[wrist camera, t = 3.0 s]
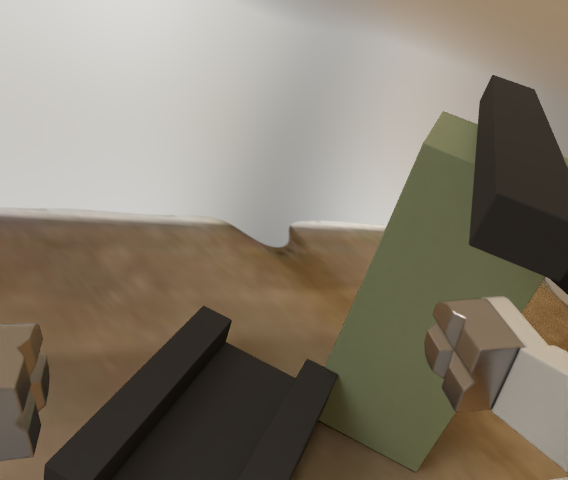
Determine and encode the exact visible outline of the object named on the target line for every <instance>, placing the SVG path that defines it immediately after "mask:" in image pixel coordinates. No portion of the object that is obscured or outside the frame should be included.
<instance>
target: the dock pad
mask: <svg viewBox="0 0 568 480" xmlns="http://www.w3.org/2000/svg"><path fill="white" fill-rule="evenodd" d="M231 321H232V320H231V319H229V318H227V317H225V316H223V315H221V314H219V313H217V312H215V311H213V310H211V309H209V308H207V307H205V306H203V307H202V308H201V309H200V310H199V311H198V312H197V313H196V314H195V315H194V316H193V317H192V318H191V319H190V320H189V321H188V322H187V323H186V324H185V325H184V326H183V327H182V328H181V329H180V330H179V331H178V332H177V333H176V334H175V335H174V336H173V337H172V338H171V339H170V340H169V341H168V342H167V343H166V344H165V345H164V346H163V347H162V348H161V349H160V350H159V351H158V352H157V353H156V354H155V355H154V356H153V357H152V358H151V359H150V360H149V361H148V362H147V363H146V364H145V365H144V366H143V367H142V368H141V369H140V370H139V371H138V372H137V373H136V374H135V375H134V376H133V377H132V378H131V379H130V380H129V381H128V382H127V383H126V384H125V385H124V386H123V387H122V388H121V389H120V390H119V391H118V392H117V393H116V394H115V395H114V396H113V397H112V398H111V399H110V400H109V401H108V402H107V403H106V404H105V405H104V406H103V407H102V408H101V409H100V410H99V411H98V412H97V413H96V414H95V415H94V416H93V417H92V418H91V419H90V420H89V421H88V422H87V423H86V424H85V425H84V426H83V427H82V428H81V429H80V430H79V431H78V432H77V433H76V434H75V435H74V436H73V437H72V438H71V439H70V440H69V441H68V442H67V443H66V444H65V445H64V446H63V447H62V448H61V449H60V450H59V451H58V452H57V453H56V454H55V455H54V456H53V457H52V458H51V459H50V460H49V461H48V462H47V463H46V464H45V470H44V480H291V478H292V476H293V474H294V472H295V469H296V467H297V465H298V463H299V461H300V459H301V457H302V454H303V452H304V450H305V448H306V446H307V444H308V441H309V439H310V437H311V435H312V433H313V431H314V429H315V426H316V424H317V422H318V420H319V418H320V416H321V413H322V411H323V409H324V407H325V405H326V403H327V400H328V398H329V394H330V392H331V390H332V388H333V386H334V383H335V381H336V379H337V377H338V374H336V373H334V372H332V371H331V370H329V369H327V368H325V367H323V366H321V365H319V364H317V363H315V362H313V361H311V360H309V359H307V360H306V362H305V363H304V365H303V367H302V369H301V370H300V372H299V374H298V376H297V377H296V378H294V377H292V376H290V375H288V374H286V373H284V372H282V371H280V370H278V369H276V368H275V367H273V366H271V365H269V364H267V363H265V362H263V361H261V360H259V359H257V358H255V357H253V356H251V355H250V354H248V353H246V352H244V351H242V350H240V349H238V348H236V347H234V346H232V345H230V344H228V343H226V339H227V335H228V332H229V328H230V325H231Z"/></svg>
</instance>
